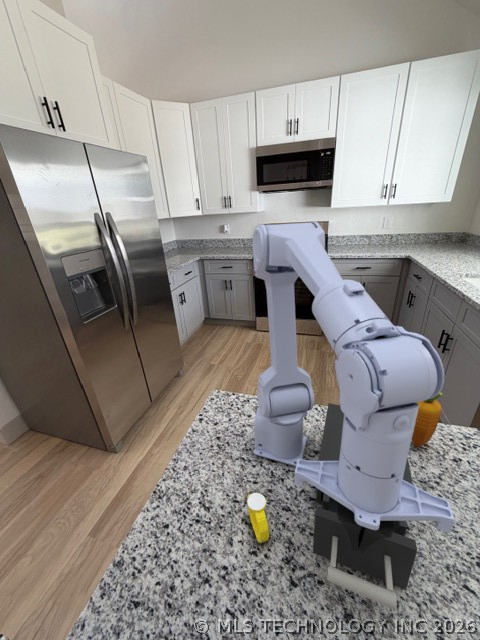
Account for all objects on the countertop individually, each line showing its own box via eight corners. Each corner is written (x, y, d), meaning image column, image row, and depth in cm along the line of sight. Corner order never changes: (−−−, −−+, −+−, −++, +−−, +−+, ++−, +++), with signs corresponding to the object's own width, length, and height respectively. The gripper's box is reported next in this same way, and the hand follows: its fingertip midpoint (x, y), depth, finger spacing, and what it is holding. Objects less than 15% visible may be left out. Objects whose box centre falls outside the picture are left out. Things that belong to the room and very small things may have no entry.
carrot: (436, 458, 52) (453, 393, 47) (407, 455, 53) (421, 390, 48) (425, 439, 57) (440, 377, 52) (399, 436, 58) (411, 375, 53)
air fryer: (402, 532, 41) (413, 485, 37) (315, 503, 46) (318, 459, 42) (392, 456, 53) (400, 416, 50) (325, 440, 58) (328, 402, 55)
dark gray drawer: (412, 644, 30) (426, 603, 27) (306, 595, 34) (308, 555, 31) (394, 493, 45) (402, 458, 43) (323, 473, 50) (326, 439, 47)
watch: (274, 546, 40) (273, 519, 38) (256, 553, 39) (254, 525, 37) (259, 507, 45) (258, 481, 43) (243, 513, 45) (242, 487, 42)
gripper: (288, 464, 26) (287, 554, 31) (480, 519, 20) (441, 618, 25) (302, 415, 32) (299, 497, 37) (453, 448, 27) (426, 539, 31)
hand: (357, 542), depth 31 cm, fingers closed
